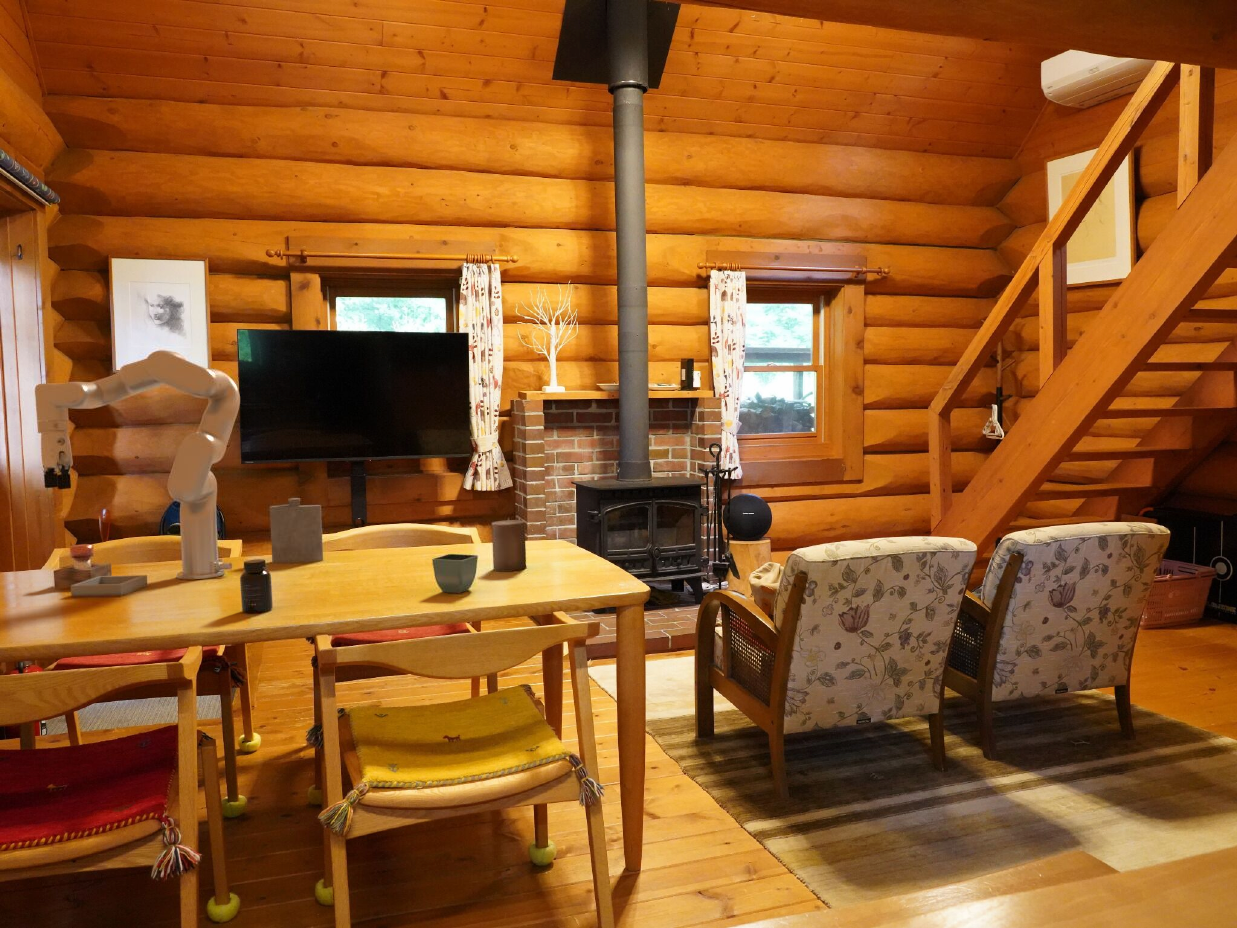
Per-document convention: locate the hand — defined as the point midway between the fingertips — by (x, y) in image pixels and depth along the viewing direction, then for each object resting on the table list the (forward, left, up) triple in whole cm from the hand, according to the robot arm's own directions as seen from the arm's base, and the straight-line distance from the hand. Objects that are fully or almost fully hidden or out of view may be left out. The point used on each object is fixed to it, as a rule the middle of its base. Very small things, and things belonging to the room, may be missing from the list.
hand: (57, 488), depth 253 cm
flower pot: (-116, +24, -27) cm, 121 cm away
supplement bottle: (-72, +42, -27) cm, 88 cm away
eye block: (-9, +5, -27) cm, 29 cm away
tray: (-22, +15, -27) cm, 38 cm away
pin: (-9, +5, -27) cm, 29 cm away
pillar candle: (-126, -7, -27) cm, 129 cm away
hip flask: (-57, -27, -27) cm, 68 cm away
